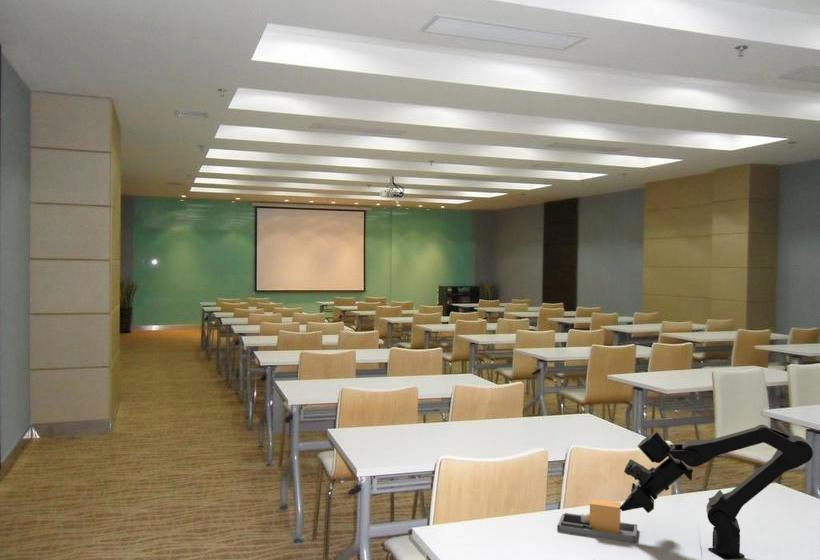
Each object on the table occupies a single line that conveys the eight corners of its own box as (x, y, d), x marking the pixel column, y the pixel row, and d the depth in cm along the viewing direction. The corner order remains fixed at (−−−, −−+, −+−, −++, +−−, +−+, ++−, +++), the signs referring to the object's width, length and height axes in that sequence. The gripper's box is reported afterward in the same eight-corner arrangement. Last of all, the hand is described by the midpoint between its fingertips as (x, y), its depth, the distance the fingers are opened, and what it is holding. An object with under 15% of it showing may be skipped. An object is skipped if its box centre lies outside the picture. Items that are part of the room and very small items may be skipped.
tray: (637, 533, 189) (637, 522, 189) (635, 546, 180) (635, 534, 180) (562, 522, 196) (562, 511, 196) (557, 534, 187) (557, 523, 187)
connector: (620, 530, 188) (620, 502, 188) (619, 536, 184) (619, 507, 184) (582, 525, 192) (582, 497, 192) (580, 530, 188) (580, 502, 188)
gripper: (644, 444, 192) (603, 477, 196) (641, 460, 175) (597, 496, 179) (672, 475, 189) (630, 507, 194) (672, 494, 172) (627, 530, 176)
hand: (621, 509), depth 186 cm, fingers closed
